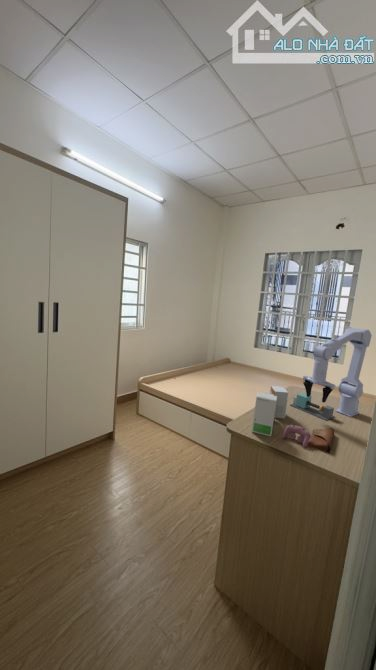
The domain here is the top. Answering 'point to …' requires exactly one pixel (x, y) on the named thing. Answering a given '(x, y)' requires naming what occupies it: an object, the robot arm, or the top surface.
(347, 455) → the top surface
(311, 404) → the linear slider
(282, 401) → the small box
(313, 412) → the grey base plate
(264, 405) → the skincare box
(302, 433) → the pink lumpy irregular piece
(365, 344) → the robot arm
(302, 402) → the sleeve
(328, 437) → the sunglasses case
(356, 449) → the top surface
